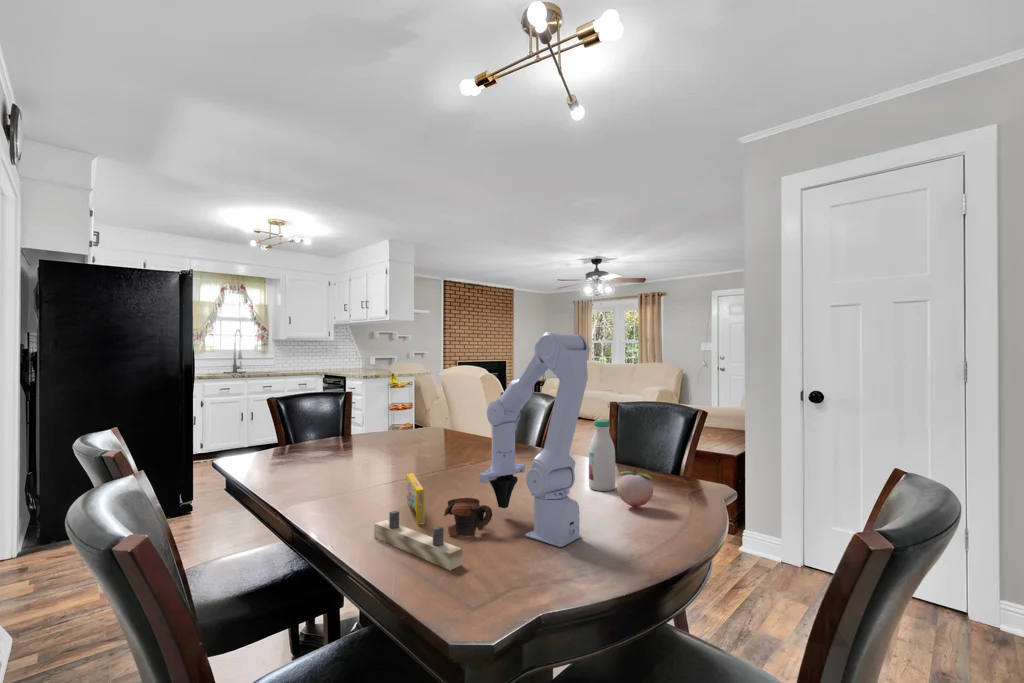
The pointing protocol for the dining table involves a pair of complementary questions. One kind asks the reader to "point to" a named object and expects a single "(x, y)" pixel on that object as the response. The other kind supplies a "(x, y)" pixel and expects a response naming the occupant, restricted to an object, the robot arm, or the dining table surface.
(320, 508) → the dining table surface
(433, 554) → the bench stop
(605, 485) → the milk bottle
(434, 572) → the dining table surface
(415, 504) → the candy box
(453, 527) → the pottery mug
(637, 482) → the decorative fruit
